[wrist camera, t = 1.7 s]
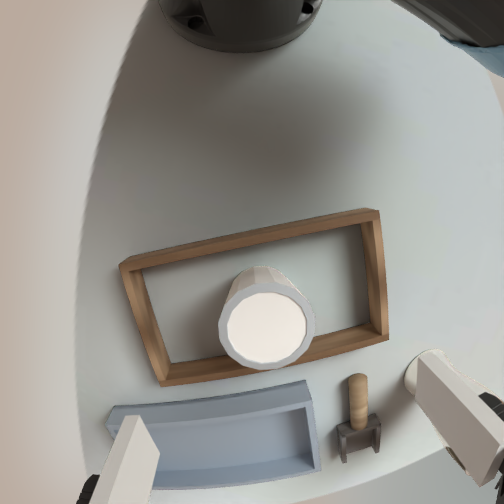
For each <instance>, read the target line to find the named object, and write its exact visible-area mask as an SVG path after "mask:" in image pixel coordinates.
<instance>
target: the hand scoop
mask: <svg viewBox="0 0 504 504" xmlns="http://www.w3.org/2000/svg"><path fill="white" fill-rule="evenodd" d="M348 383H349V401H350V421H349V422H346V423H342V424H339V425H337V431H338V446H339V455H340V458H341V460H342V463H347V459H346V454H347V453H351V452H354V451H358V450H361V449H364V448H367V447H370V446H372V447H373V449H374V452H375V454H376V453H378V452H379V448H380V434H381V423H380V421H379V419H378V417H377V415H376V414H372V415H369V416H368V388H367V376H366V375H364V374H360V373H359V374H354V375H352V376H350V377H349V379H348Z"/></svg>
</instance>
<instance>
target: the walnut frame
mask: <svg viewBox="0 0 504 504" xmlns="http://www.w3.org/2000/svg"><path fill="white" fill-rule="evenodd" d="M358 223H360V225H361V232H362V240H363V248H364V256H365V265H366V275H367V286H368V297H369V311H370V323H366V324H363V325H359V326H355V327H352V328H348V329H344V330H340V331H336V332H332V333H329V334H324V335H320V336H316V337H313V339H312V341H311V343H310V345H309V347H308V349H307V350H306V351H305V352H304V353H303V354H302V355H301V356H300V357H299V358H298V359H297V360H296V361H295V362H292V363H290V364H288V365H285V366H283V367H281V368H284V367H288V366H293V365H297V364H302V363H306V362H310V361H314V360H318V359H323V358H326V357H330V356H334V355H338V354H342V353H346V352H349V351H353V350H356V349H360V348H363V347H367V346H370V345H374V344H377V343H380V342H384V341H387V340H389V322H388V299H387V283H386V270H385V259H384V248H383V239H382V230H381V222H380V214H379V210H374V209H369V208H361V209H356V210H350V211H345V212H340V213H335V214H330V215H324V216H319V217H314V218H309V219H304V220H299V221H294V222H289V223H284V224H279V225H274V226H269V227H264V228H260V229H255V230H250V231H245V232H240V233H235V234H231V235H226V236H221V237H217V238H212V239H207V240H203V241H198V242H193V243H189V244H184V245H179V246H175V247H170V248H166V249H161V250H157V251H152V252H148V253H143V254H139V255H135V256H130V257H129V258H127V259H126V260H124V261H123V262H122V263H120V264H119V268H120V272H121V275H122V279H123V282H124V285H125V289H126V292H127V295H128V298H129V301H130V305H131V308H132V311H133V314H134V317H135V320H136V323H137V326H138V328H139V331H140V334H141V337H142V340H143V343H144V345H145V348H146V351H147V353H148V356H149V359H150V361H151V364H152V366H153V369H154V371H155V374H156V376H157V379H158V381H159V384H160V386H161V387H166V386H175V385H183V384H191V383H198V382H206V381H212V380H219V379H225V378H231V377H237V376H243V375H248V374H254V373H259V372H264V371H269V370H274V369H268V370H257V369H254V368H250V367H246V366H243V365H241V364H240V363H238V362H237V361H236V360H234V359H233V358H232V357H230V356H229V355H224V356H218V357H212V358H206V359H200V360H193V361H187V362H180V363H172V364H171V362H170V359H169V356H168V354H167V351H166V348H165V345H164V342H163V339H162V336H161V333H160V330H159V327H158V324H157V321H156V318H155V315H154V312H153V309H152V306H151V302H150V299H149V296H148V292H147V289H146V286H145V282H144V279H143V275H142V272H141V268H146V267H151V266H156V265H160V264H165V263H170V262H174V261H179V260H184V259H189V258H193V257H198V256H203V255H208V254H212V253H217V252H222V251H227V250H231V249H236V248H241V247H246V246H251V245H255V244H260V243H265V242H270V241H275V240H280V239H285V238H289V237H294V236H299V235H304V234H309V233H314V232H319V231H324V230H328V229H333V228H338V227H343V226H348V225H353V224H358ZM278 369H279V368H278Z"/></svg>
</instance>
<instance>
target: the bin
mask: <svg viewBox="0 0 504 504" xmlns="http://www.w3.org/2000/svg"><path fill="white" fill-rule="evenodd" d="M128 415H140V417H141V419H142V421H143V423H144V425H145V427H146V428H147V430H148V432H149V434H150V436H151V438H152V440H153V441H154V443H155V445H156V447H157V449H158V450H159V452H160V456H159V460H158V464H157V468H156V472H155V476H154V480H153V484H152V489H151V490H184V489H206V488H220V487H231V486H240V485H248V484H256V483H262V482H269V481H275V480H281V479H286V478H291V477H296V476H301V475H306V474H310V473H315V472H319V471H321V464H320V456H319V448H318V440H317V432H316V424H315V417H314V410H313V402H312V398H311V395H310V392H309V389H308V386H307V383H306V380H302V381H298V382H293V383H289V384H284V385H279V386H274V387H269V388H264V389H259V390H254V391H248V392H242V393H236V394H230V395H223V396H217V397H210V398H202V399H194V400H186V401H176V402H166V403H155V404H141V405H124V406H114V408H113V410H112V412H111V414H110V416H109V418H108V420H107V422H106V424H105V426H106V428H107V429H108V431H109V433H110V434H111V436H112V438H113V439H114V441H115V439H116V436H117V434H118V431H119V429H120V427H121V425H122V422H123V420H124V418H125V416H128Z"/></svg>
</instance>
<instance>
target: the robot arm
mask: <svg viewBox="0 0 504 504" xmlns="http://www.w3.org/2000/svg"><path fill="white" fill-rule="evenodd" d="M322 1H323V0H159V3H160V6H161V8H162V11H163V13H164V15H165V18H166V19H167V21H168V23H169V24H170V25H171V27H172V28H173V29H174V30H175V31H176V32H177V33H179V34H180V35H181V36H182V37H184V38H185V39H187V40H189V41H191V42H193V43H195V44H197V45H199V46H202V47H205V48H208V49H212V50H217V51H223V52H233V53H246V52H257V51H263V50H267V49H271V48H274V47H277V46H280V45H283V44H285V43H287V42H289V41H291V40H293V39H294V38H296V37H297V36H299V35H300V34H302V33H303V32H304V31H305V30H306V29H307V28H308V27H309V26H310V25H311V23H312V22H313V20H314V19H315V17H316V15H317V13H318V11H319V9H320V6H321V4H322ZM391 1H393V2H394V3H396V4H398V5H399V6H401V7H402V8H404V9H406V10H407V11H409V12H410V13H412V14H414V15H415V16H417V17H418V18H420V19H421V20H423V21H424V22H425V23H427V24H428V25H430V26H431V27H433V28H434V29H435V30H437V31H438V32H439V33H440V36H441V37H442V38H443V39H444V40H446V41H447V42H448V43H450V44H452V45H453V46H456V47H458V48H461V49H462V50H464V51H465V52H466V53H468V54H469V55H470V56H472V57H473V58H474V59H475V60H477V61H478V62H479V63H480V64H482V65H483V66H484V67H485V68H487V69H488V70H490V71H491V72H493V73H495V74H497V75H499V76H501V77H503V78H504V0H391ZM415 401H416V402H417V404H418V405H419V406H420V407H421V409H422V410H423V411H424V413H425V414H426V415H427V417H428V418H429V419H430V421H431V422H432V423H433V425H434V426H435V427H436V429H437V430H438V431H439V433H440V434H441V435H442V437H443V438H444V439H445V441H446V442H447V443H448V445H449V446H450V447H451V449H452V450H453V452H454V453H455V454H456V456H457V457H458V458H459V460H460V461H461V463H462V464H463V465H464V467H465V468H466V469H467V471H468V472H469V474H470V475H471V476H472V478H473V479H474V481H475V482H476V483H477V485H478V486H479V487H481V486H483V485H484V484H486V483H488V482H489V481H490V480H492V479H494V477H495V476H496V474H497V472H498V470H499V471H500V472H501V473H502V476H501V478H500V479H499V481H498V483H497V485H496V487H495V489H497V488H498V487H499V490H498V495H497V500H496V504H504V404H502V402H501V401H500V400H499V399H498V398H497V397H496V396H494V395H492V394H489V393H487V392H484V393H482V394H480V395H478V396H477V395H476V394H475V393H474V392H473V391H472V390H471V389H470V388H469V387H468V386H467V385H466V384H465V383H464V382H463V381H462V380H461V379H460V378H459V377H458V376H457V375H456V374H455V373H454V372H453V371H452V370H450V369H449V368H448V367H447V366H446V365H445V364H444V363H443V362H442V361H441V360H440V359H439V358H438V357H437V356H436V355H435V354H433V353H432V352H429V353H426V354H424V355H421V356H418V367H417V381H416V393H415ZM159 456H160V452H159V450H158V449H157V447H156V445H155V443H154V441H153V440H152V438H151V436H150V434H149V432H148V430H147V428H146V427H145V425H144V423H143V421H142V419H141V417H140V415H128V416H125V418H124V420H123V422H122V425H121V427H120V429H119V431H118V434H117V436H116V439H115V441H114V443H113V446H112V448H111V450H110V453H109V455H108V458H107V460H106V462H105V465H104V467H103V470H102V472H101V475H94V474H93V475H92V476H91V477H90V478H89V479H88V480H87V481H86V482H85V484H84V486H83V489H82V493H80V496H79V500H78V501H77V503H76V504H148V501H149V497H150V493H151V489H152V484H153V480H154V476H155V472H156V468H157V464H158V460H159Z"/></svg>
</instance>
